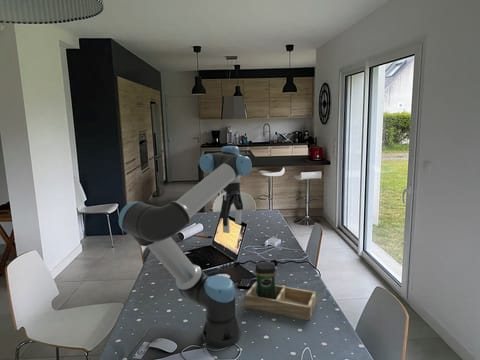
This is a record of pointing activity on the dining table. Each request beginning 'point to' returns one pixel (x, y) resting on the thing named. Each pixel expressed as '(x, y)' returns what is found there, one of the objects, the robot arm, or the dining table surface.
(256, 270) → the coffee jar
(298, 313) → the jar crate
